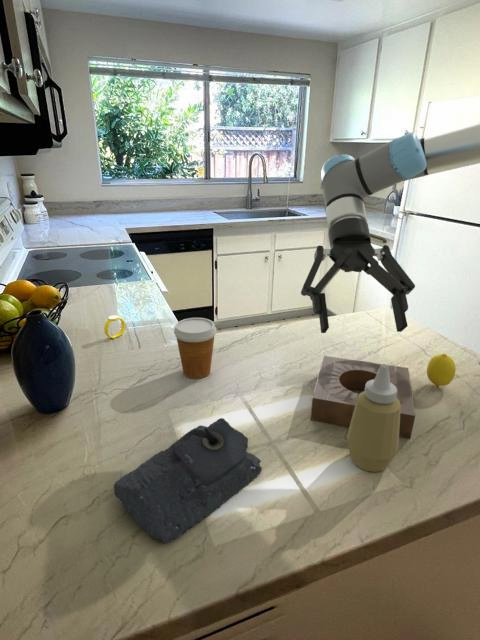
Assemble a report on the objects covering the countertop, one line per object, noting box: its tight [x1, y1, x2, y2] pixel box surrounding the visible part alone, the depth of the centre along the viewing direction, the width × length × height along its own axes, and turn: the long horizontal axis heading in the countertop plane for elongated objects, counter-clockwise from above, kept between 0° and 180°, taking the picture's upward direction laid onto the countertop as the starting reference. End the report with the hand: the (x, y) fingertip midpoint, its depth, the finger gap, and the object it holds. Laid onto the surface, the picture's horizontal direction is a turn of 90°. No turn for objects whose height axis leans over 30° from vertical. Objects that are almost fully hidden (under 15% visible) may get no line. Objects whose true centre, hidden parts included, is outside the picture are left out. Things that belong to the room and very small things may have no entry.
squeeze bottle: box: [346, 363, 401, 473], centre depth 64 cm, size 8×8×18 cm
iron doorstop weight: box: [113, 417, 263, 544], centre depth 62 cm, size 15×22×5 cm
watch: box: [103, 314, 126, 340], centre depth 110 cm, size 6×3×6 cm, turn 144°
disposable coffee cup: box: [173, 317, 217, 380], centre depth 92 cm, size 10×10×12 cm
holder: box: [310, 355, 416, 440], centre depth 82 cm, size 18×18×5 cm
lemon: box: [426, 353, 457, 387], centre depth 88 cm, size 6×6×8 cm
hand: (363, 329), depth 70 cm, fingers open, 13 cm apart
